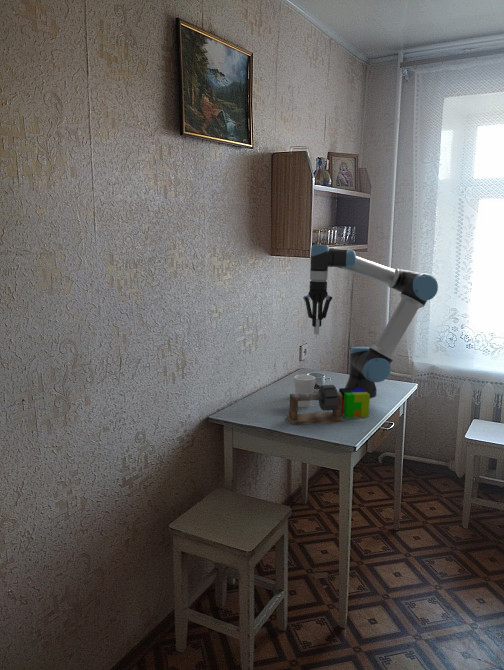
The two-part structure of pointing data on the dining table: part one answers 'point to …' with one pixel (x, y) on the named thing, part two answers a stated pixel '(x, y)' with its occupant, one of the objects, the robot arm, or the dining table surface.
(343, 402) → the puzzle toy
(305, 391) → the foam cup
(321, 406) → the dark gray notched block
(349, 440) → the dining table surface
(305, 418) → the pipe rig
